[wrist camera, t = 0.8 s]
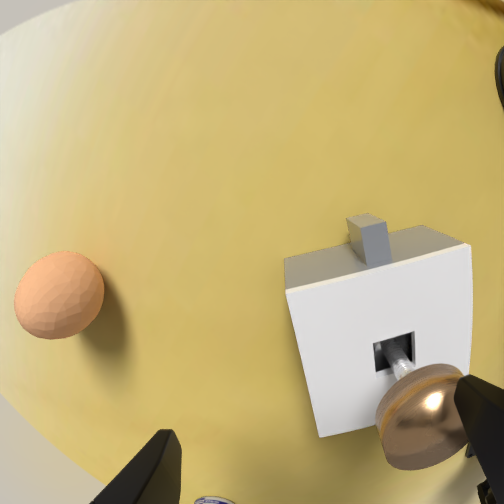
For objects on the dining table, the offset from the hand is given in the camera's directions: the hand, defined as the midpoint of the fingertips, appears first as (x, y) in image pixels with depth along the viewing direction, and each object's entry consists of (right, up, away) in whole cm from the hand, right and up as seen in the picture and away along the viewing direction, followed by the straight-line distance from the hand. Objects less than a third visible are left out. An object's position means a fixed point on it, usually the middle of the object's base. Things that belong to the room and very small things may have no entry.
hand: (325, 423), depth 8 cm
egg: (-15, +3, +15) cm, 22 cm away
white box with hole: (+6, +1, +14) cm, 15 cm away
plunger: (+6, 0, +9) cm, 11 cm away
